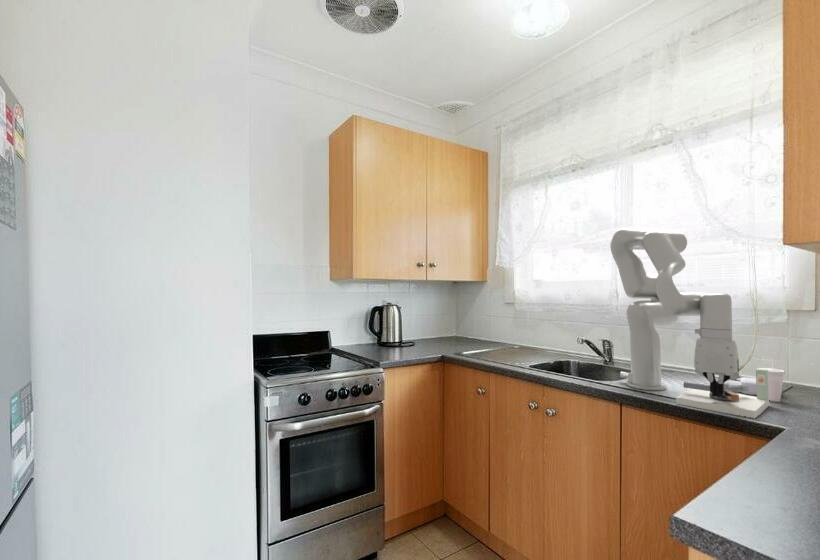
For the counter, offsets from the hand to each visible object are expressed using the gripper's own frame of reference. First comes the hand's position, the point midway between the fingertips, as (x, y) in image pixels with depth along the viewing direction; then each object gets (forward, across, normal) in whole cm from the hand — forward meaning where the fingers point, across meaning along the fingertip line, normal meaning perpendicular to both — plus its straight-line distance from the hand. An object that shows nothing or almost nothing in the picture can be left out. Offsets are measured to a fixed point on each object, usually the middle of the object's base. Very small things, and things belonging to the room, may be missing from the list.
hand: (717, 395), depth 118 cm
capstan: (+2, +1, +4) cm, 4 cm away
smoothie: (+4, +8, +24) cm, 26 cm away
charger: (+5, +2, +31) cm, 32 cm away
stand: (+4, 0, +6) cm, 8 cm away
